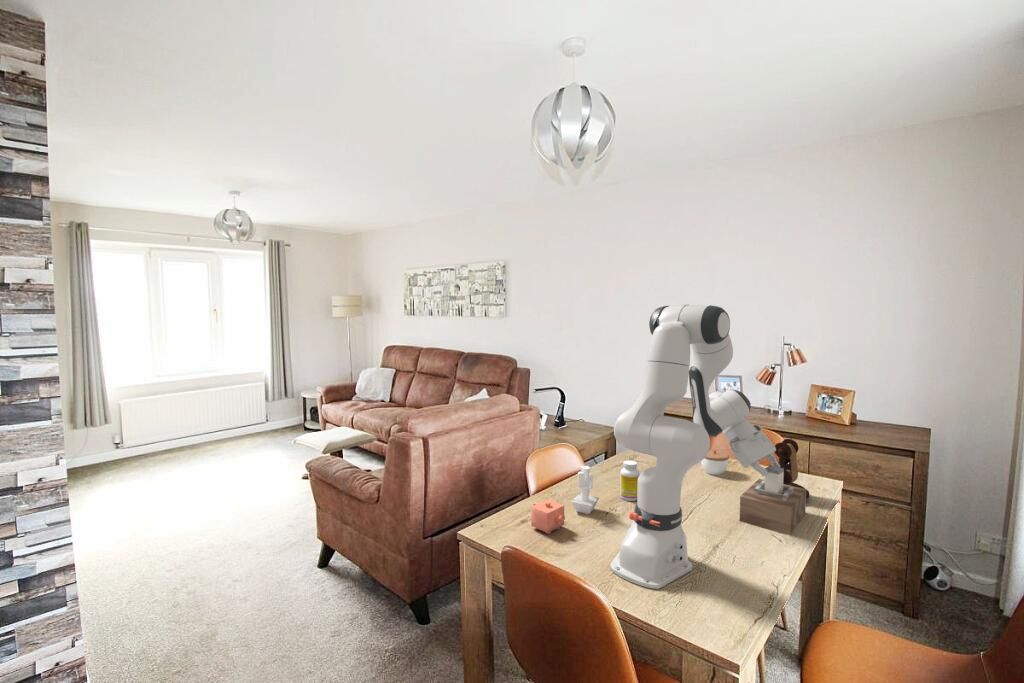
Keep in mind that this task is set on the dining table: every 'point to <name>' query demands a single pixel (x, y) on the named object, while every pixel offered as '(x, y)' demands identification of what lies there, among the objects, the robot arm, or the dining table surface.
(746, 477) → the dining table surface
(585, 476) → the figurine
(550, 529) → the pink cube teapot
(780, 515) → the block
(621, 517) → the dining table surface
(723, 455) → the lidded jar
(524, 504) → the dining table surface
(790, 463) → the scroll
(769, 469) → the grey white rectangular block
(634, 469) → the supplement bottle
